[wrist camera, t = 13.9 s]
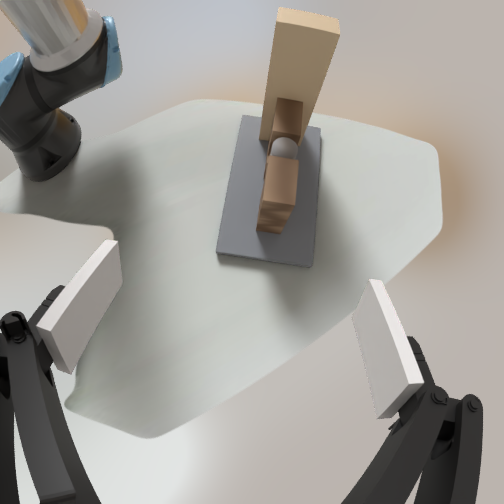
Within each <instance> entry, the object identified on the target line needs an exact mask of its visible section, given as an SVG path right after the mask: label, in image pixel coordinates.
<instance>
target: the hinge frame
mask: <svg viewBox="0 0 504 504" xmlns="http://www.w3.org/2000/svg"><path fill="white" fill-rule="evenodd" d="M339 37H340V29H339V23H338V19H335V18H331V17H327V16H323V15H319V14H314V13H310V12H305V11H300V10H294V9H288V8H282V7H279V10H278V15H277V20H276V26H275V33H274V39H273V46H272V52H271V59H270V66H269V72H268V79H267V86H266V93H265V100H264V106H263V113H262V117H255V116H248V115H243V116H242V120H241V125H240V129H239V134H238V139H237V144H236V148H235V153H234V158H233V163H232V168H231V173H230V178H229V183H228V188H227V193H226V198H225V204H224V209H223V214H222V220H221V225H220V230H219V236H218V242H217V247H216V253H218V254H224V255H231V256H237V257H244V258H251V259H257V260H264V261H270V262H277V263H284V264H290V265H297V266H304V267H311V266H312V264H313V253H314V241H315V229H316V215H317V200H318V183H319V162H320V132H321V128H317V127H312V126H308V123H309V120H310V117H311V115H312V112H313V109H314V106H315V103H316V101H317V98H318V95H319V92H320V90H321V87H322V84H323V81H324V79H325V76H326V73H327V70H328V68H329V65H330V62H331V59H332V56H333V54H334V51H335V48H336V45H337V42H338V39H339ZM277 97H279V98H285V99H290V100H296V101H301V102H303V114H302V129H301V137H300V140H299V143H298V153H297V155H296V158H295V160H299V166H298V178H297V189H296V200H295V206H294V208H293V210H292V212H291V214H290V216H289V218H288V220H287V222H286V224H285V226H284V228H283V230H282V232H281V234H275V233H268V232H262V231H256V225H257V218H258V212H259V205H260V198H261V194H262V189H263V184H264V179H263V178H264V171H265V164H266V157H267V150H268V143H269V137H270V132H271V127H272V122H273V117H274V112H275V107H276V102H277Z"/></svg>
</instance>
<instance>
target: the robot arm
mask: <svg viewBox="0 0 504 504" xmlns="http://www.w3.org/2000/svg"><path fill="white" fill-rule="evenodd" d="M0 9H1V11H2V12H3V13H4V14H5V16H6V17H7V18H8V19H9V21H10V22H11V23H12V24H13V25H14V27H15V28H16V29H17V30H18V32H19V33H20V34H21V35H22V36H23V38H24V39H25V40H26V41H27V42H28V44H29V45H30V46H31V50H30V55H29V56H27V57H24V54H22V53H20V52H16V53H13V54H11V55H9V56H8V57H6V58H5V59H4V60H3V61H1V62H0V140H1V141H2V142H3V143H4V144H5V145H6V146H7V147H8V148H9V149H10V150H12V152H13V154H14V156H15V159H16V161H17V163H18V165H19V168H20V170H21V172H22V173H23V174H24V175H25V176H26V177H28V178H29V179H30V180H32V181H44V180H47V179H49V178H51V177H53V176H55V175H56V174H58V173H59V172H60V171H61V170H62V169H63V168H64V167H65V166H66V165H67V164H68V163H69V162H70V161H71V159H72V158H73V156H74V155H75V153H76V151H77V149H78V147H79V144H80V141H81V128H80V126H79V124H78V123H77V121H76V120H75V118H74V117H73V116H71V115H70V114H68V113H66V112H65V111H63V110H61V109H59V107H60V106H62V105H64V104H66V103H68V102H70V101H72V100H74V99H76V98H78V97H80V96H83V95H85V94H87V93H89V92H91V91H94V90H96V89H98V88H102V87H104V86H105V85H106V84H108V83H110V82H112V81H114V80H116V79H117V78H119V77H120V75H121V74H122V61H121V55H120V50H119V44H118V38H117V32H116V27H115V23H114V19H113V17H111V16H107V17H101V16H100V14H99V13H98V12H97V11H95V10H93V9H87V8H85V6H84V4H83V2H82V0H0ZM122 284H123V278H122V271H121V263H120V254H119V245H118V241H114V240H107V239H105V241H104V242H103V243H102V244H101V245H100V246H99V247H98V248H97V250H96V251H95V252H94V253H93V254H92V255H91V256H90V258H89V259H88V260H87V261H86V262H85V264H84V265H83V266H82V267H81V268H80V269H79V271H78V272H77V273H76V274H75V275H74V277H73V278H72V279H71V281H70V282H69V283H68V284H67V286H62V285H60V286H58V287H56V288H55V289H53V290H52V291H51V292H50V293H49V295H48V296H47V297H46V300H44V301H43V302H42V304H41V305H40V306H39V307H38V309H37V310H36V311H35V313H34V314H33V315H32V317H31V318H30V319H29V321H28V322H27V321H26V318H25V316H24V314H23V313H21V312H19V311H12V312H9V313H7V314H6V315H4V316H3V317H2V319H1V320H0V329H1V331H2V333H0V504H20V501H19V495H18V487H17V479H16V469H15V453H14V412H15V417H16V422H17V426H18V431H19V435H20V439H21V443H22V447H23V451H24V455H25V458H26V461H27V465H28V468H29V471H30V474H31V477H32V480H33V483H34V486H35V488H36V491H37V494H38V496H39V499H40V504H101V502H100V500H99V498H98V496H97V495H96V492H95V491H94V489H93V486H92V484H91V482H90V480H89V478H88V476H87V474H86V472H85V469H84V467H83V465H82V462H81V460H80V458H79V455H78V453H77V450H76V448H75V445H74V442H73V440H72V437H71V434H70V431H69V429H68V426H67V423H66V420H65V417H64V413H63V410H62V407H61V404H60V400H59V397H58V393H57V389H56V386H55V382H54V378H53V374H52V371H51V368H50V366H51V364H52V363H53V362H54V364H55V365H56V367H57V369H58V370H60V371H63V372H66V373H68V374H72V372H73V370H74V368H75V366H76V364H77V362H78V361H79V359H80V357H81V355H82V353H83V351H84V349H85V347H86V346H87V344H88V342H89V340H90V338H91V337H92V335H93V333H94V331H95V330H96V328H97V326H98V324H99V323H100V321H101V319H102V317H103V316H104V314H105V312H106V311H107V309H108V307H109V306H110V304H111V302H112V301H113V299H114V297H115V296H116V294H117V292H118V291H119V289H120V288H121V286H122ZM352 320H353V323H354V327H355V330H356V334H357V338H358V341H359V345H360V349H361V352H362V357H363V361H364V365H365V369H366V373H367V377H368V381H369V385H370V390H371V394H372V399H373V403H374V408H375V412H376V417H377V419H384V418H392V417H393V416H394V415H395V414H396V413H397V412H399V416H400V418H399V419H398V420H397V421H396V422H395V423H394V424H393V425H392V426H390V428H389V430H391V429H392V430H391V432H390V433H389V435H388V437H387V438H386V440H385V442H384V443H383V445H382V447H381V448H380V450H379V451H378V453H377V455H376V456H375V458H374V459H373V461H372V462H371V464H370V465H369V467H368V468H367V469H366V471H365V472H364V474H363V475H362V477H361V478H360V479H359V481H358V482H357V484H356V485H355V486H354V488H353V489H352V490H351V492H350V493H349V494H348V496H347V497H346V498H345V499H344V501H343V502H342V503H341V504H405V502H406V500H407V499H408V497H409V495H410V493H411V491H412V489H413V488H414V485H415V484H416V482H417V480H418V478H419V476H420V474H421V472H422V475H421V479H420V483H419V487H418V490H417V494H416V497H415V501H414V504H475V501H476V496H477V489H478V483H479V475H480V466H481V454H482V436H483V407H482V403H481V401H480V400H479V399H478V397H476V396H475V395H473V394H468V395H466V396H465V397H464V398H463V399H462V400H458V399H453V398H449V396H448V394H447V393H446V392H445V390H444V389H442V388H441V387H438V386H436V385H435V383H434V380H433V378H432V375H431V372H430V370H429V367H428V365H427V362H425V357H424V355H423V354H422V350H421V348H420V345H419V344H418V343H417V341H416V340H415V339H414V338H413V337H410V336H406V334H405V332H404V330H403V327H402V325H401V322H400V320H399V318H398V315H397V313H396V311H395V309H394V306H393V304H392V302H391V300H390V298H389V295H388V293H387V291H386V289H385V287H384V285H383V283H382V281H381V280H374V279H369V280H368V282H367V285H366V287H365V289H364V292H363V294H362V296H361V298H360V301H359V303H358V305H357V307H356V309H355V312H354V314H353V316H352ZM422 470H423V471H422Z"/></svg>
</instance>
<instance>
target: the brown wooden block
mask: <svg viewBox="0 0 504 504" xmlns="http://www.w3.org/2000/svg"><path fill="white" fill-rule="evenodd" d="M297 153H298V146H297V144H296V143H295V142H294V141H293V140H292V139H290V138H286V137H281V138H278V139H276V140H275V141H274V142H273V144H272V149H271V154H270V155H269V159H268V163H267V168H266V173H265V178H264V184H263V189H262V194H261V198H260V205H259V212H258V218H257V225H256V231H262V232H268V233H275V234H281V232H282V230H283V228H284V226H285V224H286V222H287V220H288V218H289V216H290V214H291V212H292V210H293V208H294V206H295V200H296V189H297V178H298V166H299V160H295V158H296V155H297Z"/></svg>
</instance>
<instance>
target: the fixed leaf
mask: <svg viewBox="0 0 504 504" xmlns="http://www.w3.org/2000/svg"><path fill="white" fill-rule="evenodd" d="M302 114H303V102H301V101H296V100H290V99H285V98H279V97H277V102H276V107H275V112H274V117H273V122H272V127H271V132H270V137H269V143H268V150H267V157H266V164H265V171H264V178H265V173H266V168H267V163H268V159H269V155H270V154H271V149H272V144H273V142H274V141H275V140H276V139H278V138H281V137H286V138H290V139H292V140H293V141H294V142H295V143H296V144H297V146H298V143H299V140H300V137H301V129H302ZM264 178H263V179H264Z"/></svg>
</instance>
